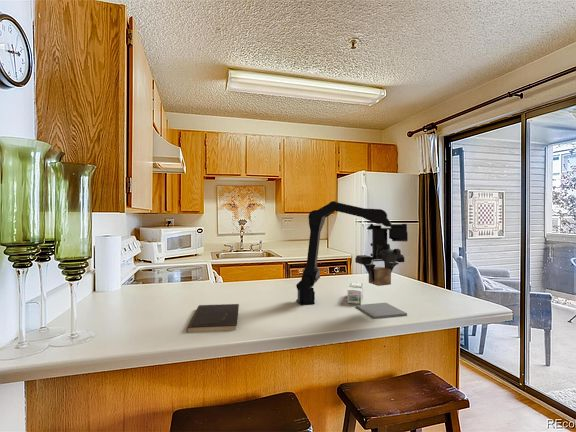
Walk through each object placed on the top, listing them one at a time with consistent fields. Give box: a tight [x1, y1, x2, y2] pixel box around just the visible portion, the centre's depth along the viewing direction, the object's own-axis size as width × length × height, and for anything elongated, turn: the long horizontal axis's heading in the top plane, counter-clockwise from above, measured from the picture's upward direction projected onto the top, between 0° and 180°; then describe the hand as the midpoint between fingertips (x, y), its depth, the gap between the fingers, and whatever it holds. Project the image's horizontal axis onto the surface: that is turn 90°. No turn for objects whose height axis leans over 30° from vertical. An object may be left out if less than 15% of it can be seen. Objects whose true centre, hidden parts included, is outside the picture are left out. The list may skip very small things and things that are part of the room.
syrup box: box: [347, 282, 364, 305], centre depth 136 cm, size 6×6×14 cm
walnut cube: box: [368, 266, 392, 287], centre depth 120 cm, size 6×6×6 cm
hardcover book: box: [185, 303, 240, 333], centre depth 110 cm, size 16×23×2 cm
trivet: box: [355, 302, 408, 319], centre depth 120 cm, size 14×14×1 cm
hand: (380, 280), depth 120 cm, fingers closed on walnut cube, 6 cm apart
